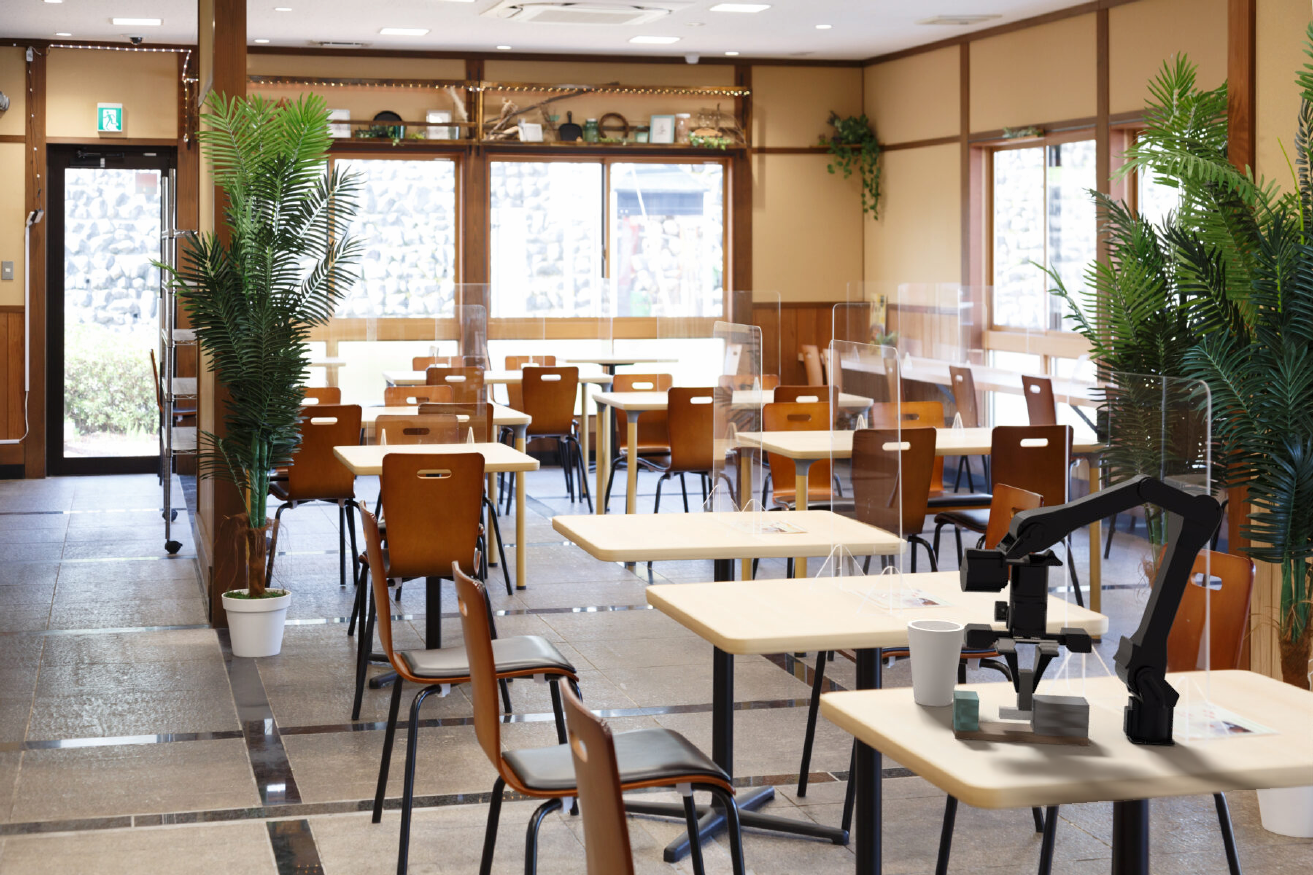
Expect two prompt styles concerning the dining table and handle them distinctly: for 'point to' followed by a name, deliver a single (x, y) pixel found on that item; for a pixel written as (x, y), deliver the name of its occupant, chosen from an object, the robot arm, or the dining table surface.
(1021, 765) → the dining table surface
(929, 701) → the foam cup
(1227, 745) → the dining table surface
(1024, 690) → the angled grey metal bar
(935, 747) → the dining table surface
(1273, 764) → the dining table surface
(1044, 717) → the wooden long base
